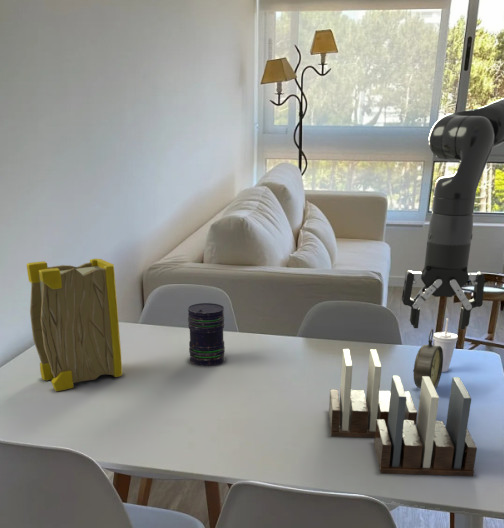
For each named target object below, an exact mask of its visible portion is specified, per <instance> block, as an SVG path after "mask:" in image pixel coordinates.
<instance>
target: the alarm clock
mask: <svg viewBox="0 0 504 528" xmlns="http://www.w3.org/2000/svg"><path fill="white" fill-rule="evenodd" d="M433 335H434V328H431V329H430V331H429V334H428V344H423V345H422V346H420V348H419V349H418V351H417V354H416V356H415V360H414V364H413V369H412V372H413V383H414V385H415V386H416V389H420V390H421V383H422V376H429V377H430V379H431V381H432V384H433V386H434V388H435V390H437V388H438V385H439V383H440V381H441V378H442V373H443V372H442V367H443V350H442V348H441V346H435V345H434V344H433Z"/></svg>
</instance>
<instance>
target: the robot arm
mask: <svg viewBox="0 0 504 528" xmlns="http://www.w3.org/2000/svg"><path fill="white" fill-rule="evenodd" d="M503 144H504V98H501V99H498V100H496V101H493V102H490V103H488V104H486V105H484V106H481V107H478V108H473V109H465V110H461V111H455V112H452V113H448V114H446V115H444V116H442V117H440V118H439V119H438V120H437V121H436V122H435V123H434V124H433V126H432V128H431V129H430V133H429V136H428V146H429V149H430V151H431V152H432V154H433V155H434V156H435V157H436V158H438V159H439V160H443V161H451V162H459V165H458V167H457V170H456V171H455V173H454V174H451V175H445V176H441V177H439V178H438V179H437V180H436V182H435V184H434V189H433V197H432V205H431V206H432V208H431V215H430V219H429V223H428V229H427V239H426V247H425V257H424V266H423V269H422V271H413V270H411V269H408V270H406V271H405V276H404V281H403V287H402V292H401V293H402V295H401V302H402V304H403V305H404V306H408V307H410V313H409V314H410V315H409V322H410V324H411V326H412V327H413V329H419V324H420V314H421V309H420V307H421V305H423V303H424V302H426V301H427V300H428V299H429V298H430V297H431V296H433V297H434V298H440V297H446V298H452V297H454V296H457V299H458V300H459V302H460V303H461V305H462V307H460V314H459V322H458V328H459V329H460V330H466V327H468V326H469V325H470V318H471V313H472V312H471V311H472V310H473V309H474V308H480V307H482V306H483V301H484V290H485V280H486V276H485V275H484V273H483V272H481V271H479V270H478V271H476V272H475V273H474V272H468V267H469V259H470V252H471V244H472V240H473V230H474V229H473V228H474V213H475V212H474V211H475V204H476V196H477V191H478V186H479V184H480V182H481V179H482V177H483V173H484V171H485V168H486V166H487V163H488V161H489V159H490V156H491V154H492V151H493V148H496V147H499V146H501V145H503ZM418 280H421V281H422V283H423V284H424V285H423V286H422V287H421V288H420V289H419V290H418V293H417V294H416V295H415V296H414V297H413V298H412V291H413V286H414V285H416V284H417V283H418ZM469 281H470V284H471V285H472V286H473V296H472V299H469V298H468V297H467V295H466V294H465V293H464V290H463V289H462V288H464V286H465V285H466V284H467V283H468V282H469Z"/></svg>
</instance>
